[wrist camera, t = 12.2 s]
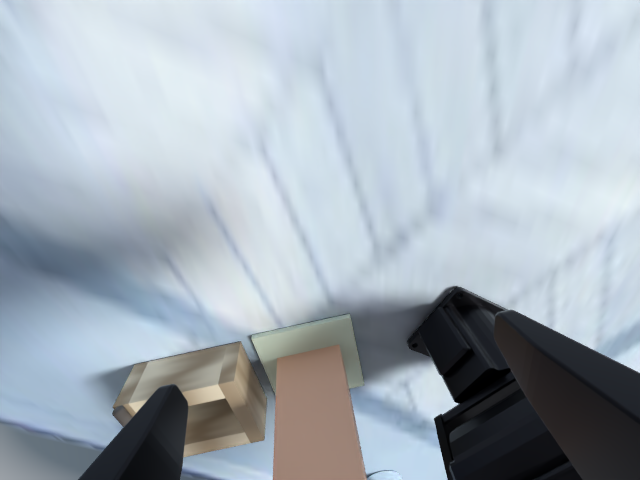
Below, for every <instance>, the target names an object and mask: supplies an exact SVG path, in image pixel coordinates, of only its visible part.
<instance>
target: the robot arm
mask: <svg viewBox="0 0 640 480" xmlns="http://www.w3.org/2000/svg"><path fill="white" fill-rule="evenodd" d="M459 293H460V294H459ZM458 294H459V295H458ZM407 344H408V346H409V348H410V349H411V350H414V351H416V352H419V353H422V354H424V355H427V356H430V357H431V359H432V361H433V363H434V365H435V367H436V369H437V371H438V373H439V374H440V375H441V376H442V378H443V380H444V382H445V384H446V386H447V388H448V390H449V392H450V394H451V396H452V398H453V400H454V401H455V402H456V403H458V405H457V406H455V407H454V408H452V409H451V410H449V411H448V412H446V413H444V414H443V415H442V414H440V415H438V416H437V417H435V418H434V421H435V425H436V429H437V435H438V439H439V444H440V448H441V452H442V457H443V461H444V465H445V470H446V474H447V478H448V480H640V373H639V372H637V371H635V370H633V369H631V368H629V367H627V366H625V365H623V364H621V363H619V362H617V361H615V360H613V359H611V358H609V357H607V356H605V355H603V354H601V353H599V352H597V351H595V350H592V349H590V348H588V347H586V346H584V345H582V344H580V343H578V342H576V341H574V340H572V339H570V338H568V337H566V336H564V335H562V334H560V333H558V332H556V331H554V330H552V329H550V328H548V327H546V326H544V325H542V324H540V323H538V322H536V321H534V320H532V319H530V318H528V317H526V316H524V315H522V314H520V313H518V312H516V311H514V310H507V309H505V308H503V307H501V306H499V305H497V304H495V303H493V302H491V301H489V300H486V299H484V298H482V297H480V296H478V295H476V294H474V293H472V292H470V291H468V290H466V289H464V288H461V287H457V288H455V289H453V290H452V291H451V293H450V294H449V295H448V296H447V297H446V298H445V299H444V300H443V302H442V303H441V304H440V305H439V306H438V307H437V308H436V309H435V311H434V312H433V313H432V314H431V315H430V316H429V317H428V318H427V320H426V321H425V322H424V323H423V324H422V325H421V326H420V327H419V328H418V330H417V331H416V332H415V333H414V334H413V335H412V336H411V337H410V339H409V340H408V341H407ZM188 409H189V408H188V402H187V400H186V398H185V397H184V395H183V394H182V392H181V391H180V389H179V388H178V386H177V385H175V384H169V385H164V386H161V387H159V388H158V389H157V390H156V391H155V392H154V393H153V394H152V395H151V397H150V398H149V399H148V400H147V401H146V402H145V403H144V405H143V406H142V407H141V408H140V409H139V410H138V412H137V413H136V414H135V415H134V416H133V417H132V418H131V420H130V421H129V422H128V423H127V424H126V425H125V426H124V428H123V429H122V430H121V431H120V432H119V433H118V434H117V436H116V437H115V438H114V439H113V440H112V441H111V442H110V444H109V445H108V446H107V447H106V448H105V449H104V450H103V452H102V453H101V454H100V455H99V456H98V457H97V458H96V460H95V461H94V462H93V463H92V464H91V465H90V467H89V468H88V469H87V470H86V471H85V472H84V473H83V475H82V476H81V477H80V478H79V479H78V480H180V476H181V470H182V464H183V456H184V446H185V437H186V428H187V419H188Z"/></svg>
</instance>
